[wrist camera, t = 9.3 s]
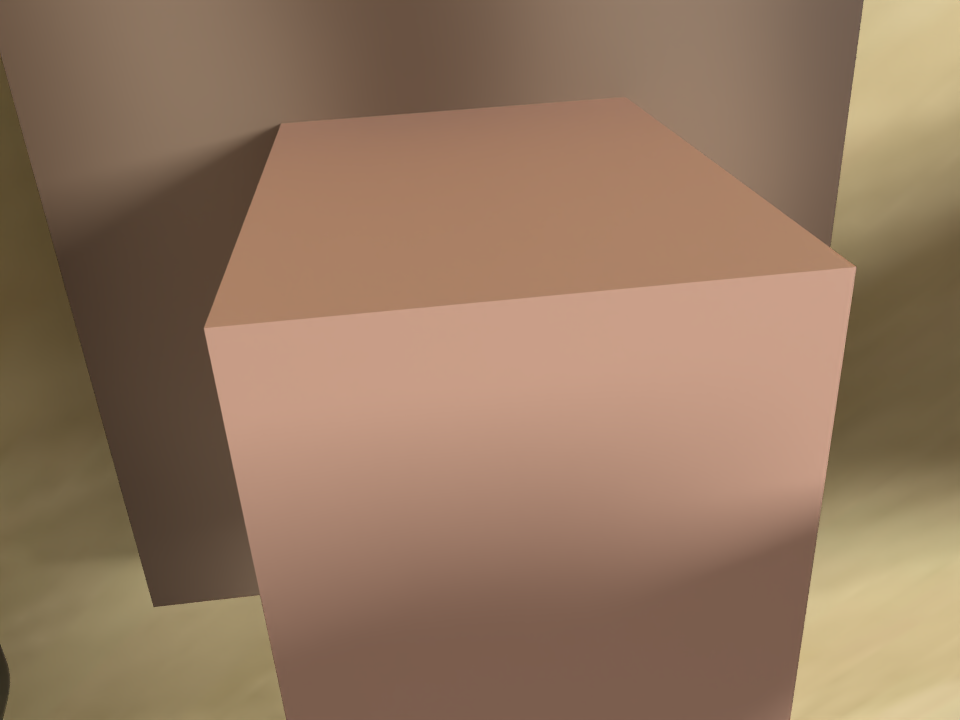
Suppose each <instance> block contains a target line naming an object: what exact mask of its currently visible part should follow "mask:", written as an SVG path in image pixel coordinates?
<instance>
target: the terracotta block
mask: <svg viewBox="0 0 960 720" xmlns="http://www.w3.org/2000/svg"><path fill="white" fill-rule="evenodd" d="M855 274H856V266H854V265H853V264H852V263H850V262H849V261H848V260H846V259H845V258H844V257H842V256H841V255H840V254H838V253H837V252H835V251H834V250H833V249H831V248H830V247H829V246H827V245H826V244H825V243H823V242H822V241H821V240H819V239H818V238H816V237H815V236H814V235H812V234H811V233H810V232H808V231H807V230H806V229H804V228H803V227H801V226H800V225H799V224H797V223H796V222H795V221H793V220H792V219H791V218H789V217H788V216H787V215H785V214H784V213H782V212H781V211H780V210H778V209H777V208H776V207H774V206H773V205H772V204H770V203H769V202H768V201H766V200H765V199H763V198H762V197H761V196H759V195H758V194H757V193H755V192H754V191H753V190H751V189H750V188H749V187H747V186H746V185H744V184H743V183H742V182H740V181H739V180H738V179H736V178H735V177H734V176H732V175H731V174H729V173H728V172H727V171H725V170H724V169H723V168H721V167H720V166H719V165H717V164H716V163H715V162H713V161H712V160H710V159H709V158H708V157H706V156H705V155H704V154H702V153H701V152H700V151H698V150H697V149H696V148H694V147H693V146H691V145H690V144H689V143H687V142H686V141H685V140H683V139H682V138H681V137H679V136H678V135H677V134H675V133H674V132H672V131H671V130H670V129H668V128H667V127H666V126H664V125H663V124H662V123H660V122H659V121H657V120H656V119H655V118H653V117H652V116H651V115H649V114H648V113H647V112H645V111H644V110H643V109H641V108H640V107H638V106H637V105H636V104H634V103H633V102H632V101H630V100H629V99H628V98H626V97H619V98H606V99H593V100H579V101H567V102H554V103H541V104H527V105H514V106H501V107H488V108H475V109H462V110H449V111H436V112H423V113H410V114H397V115H384V116H371V117H358V118H345V119H332V120H319V121H306V122H293V123H281V125H280V128H279V130H278V133H277V136H276V138H275V141H274V144H273V146H272V149H271V152H270V154H269V157H268V159H267V162H266V165H265V167H264V170H263V173H262V175H261V178H260V181H259V183H258V186H257V189H256V191H255V194H254V197H253V199H252V202H251V205H250V207H249V210H248V212H247V215H246V218H245V220H244V223H243V226H242V228H241V231H240V234H239V236H238V239H237V242H236V244H235V247H234V250H233V252H232V255H231V258H230V260H229V263H228V265H227V268H226V271H225V273H224V276H223V279H222V281H221V284H220V287H219V289H218V292H217V295H216V297H215V300H214V303H213V305H212V308H211V311H210V313H209V316H208V318H207V321H206V324H205V326H204V331H205V336H206V341H207V346H208V350H209V355H210V360H211V365H212V369H213V374H214V379H215V384H216V388H217V393H218V398H219V403H220V407H221V412H222V417H223V421H224V426H225V431H226V436H227V440H228V445H229V450H230V455H231V459H232V464H233V469H234V474H235V478H236V483H237V488H238V493H239V497H240V502H241V507H242V511H243V516H244V521H245V526H246V530H247V535H248V540H249V545H250V549H251V554H252V559H253V564H254V568H255V573H256V578H257V583H258V587H259V592H260V597H261V601H262V606H263V611H264V616H265V620H266V625H267V630H268V635H269V639H270V644H271V649H272V654H273V658H274V663H275V668H276V673H277V677H278V682H279V687H280V691H281V696H282V701H283V706H284V710H285V715H286V720H790V716H791V710H792V703H793V696H794V689H795V682H796V676H797V669H798V662H799V655H800V648H801V642H802V635H803V628H804V621H805V614H806V608H807V601H808V594H809V587H810V580H811V573H812V567H813V560H814V553H815V546H816V539H817V533H818V526H819V519H820V512H821V505H822V499H823V492H824V485H825V478H826V471H827V464H828V458H829V451H830V444H831V437H832V430H833V424H834V417H835V410H836V403H837V396H838V390H839V383H840V376H841V369H842V362H843V355H844V349H845V342H846V335H847V328H848V321H849V315H850V308H851V301H852V294H853V287H854V281H855Z"/></svg>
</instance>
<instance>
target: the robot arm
mask: <svg viewBox="0 0 960 720" xmlns="http://www.w3.org/2000/svg"><path fill="white" fill-rule="evenodd" d="M9 687H10V674H9V668H8V664H7V661H6V658H5V656H4V653H3V650H2V648H1V645H0V720H3V717H4V713H5V709H6V704H7V700H8V695H9Z"/></svg>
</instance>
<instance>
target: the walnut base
mask: <svg viewBox="0 0 960 720" xmlns="http://www.w3.org/2000/svg"><path fill="white" fill-rule="evenodd" d="M863 1H864V0H0V54H1V58H2V61H3V65H4V69H5V72H6V76H7V80H8V83H9V87H10V90H11V94H12V98H13V101H14V105H15V108H16V112H17V116H18V119H19V123H20V126H21V130H22V134H23V137H24V141H25V144H26V148H27V152H28V155H29V159H30V162H31V166H32V170H33V173H34V177H35V181H36V184H37V188H38V191H39V195H40V199H41V202H42V206H43V209H44V213H45V217H46V220H47V224H48V227H49V231H50V235H51V238H52V242H53V245H54V249H55V253H56V256H57V260H58V263H59V267H60V271H61V274H62V278H63V281H64V285H65V289H66V292H67V296H68V300H69V303H70V307H71V310H72V314H73V318H74V321H75V325H76V328H77V332H78V336H79V339H80V343H81V346H82V350H83V354H84V357H85V361H86V364H87V368H88V372H89V375H90V379H91V382H92V386H93V390H94V393H95V397H96V401H97V404H98V408H99V411H100V415H101V419H102V422H103V426H104V429H105V433H106V437H107V440H108V444H109V447H110V451H111V455H112V458H113V462H114V465H115V469H116V473H117V476H118V480H119V483H120V487H121V491H122V494H123V498H124V502H125V505H126V509H127V512H128V516H129V520H130V523H131V527H132V530H133V534H134V538H135V541H136V545H137V548H138V552H139V556H140V559H141V563H142V566H143V570H144V574H145V577H146V581H147V584H148V588H149V592H150V595H151V599H152V603H153V606H154V607H158V606H167V605H175V604H184V603H193V602H202V601H211V600H219V599H228V598H237V597H246V596H254V595H260V592H259V587H258V583H257V578H256V573H255V568H254V564H253V559H252V554H251V549H250V545H249V540H248V535H247V530H246V526H245V521H244V516H243V511H242V507H241V502H240V497H239V493H238V488H237V483H236V478H235V474H234V469H233V464H232V459H231V455H230V450H229V445H228V440H227V436H226V431H225V426H224V421H223V417H222V412H221V407H220V403H219V398H218V393H217V388H216V384H215V379H214V374H213V369H212V365H211V360H210V355H209V350H208V346H207V341H206V336H205V331H204V326H205V324H206V321H207V318H208V316H209V313H210V311H211V308H212V305H213V303H214V300H215V297H216V295H217V292H218V289H219V287H220V284H221V281H222V279H223V276H224V273H225V271H226V268H227V265H228V263H229V260H230V258H231V255H232V252H233V250H234V247H235V244H236V242H237V239H238V236H239V234H240V231H241V228H242V226H243V223H244V220H245V218H246V215H247V212H248V210H249V207H250V205H251V202H252V199H253V197H254V194H255V191H256V189H257V186H258V183H259V181H260V178H261V175H262V173H263V170H264V167H265V165H266V162H267V159H268V157H269V154H270V152H271V149H272V146H273V144H274V141H275V138H276V136H277V133H278V130H279V128H280V125H281V123H293V122H306V121H319V120H332V119H345V118H358V117H371V116H384V115H397V114H410V113H423V112H436V111H449V110H462V109H475V108H488V107H501V106H514V105H527V104H541V103H554V102H567V101H579V100H593V99H606V98H619V97H626V98H628V99H629V100H630V101H632V102H633V103H634V104H636V105H637V106H638V107H640V108H641V109H643V110H644V111H645V112H647V113H648V114H649V115H651V116H652V117H653V118H655V119H656V120H657V121H659V122H660V123H662V124H663V125H664V126H666V127H667V128H668V129H670V130H671V131H672V132H674V133H675V134H677V135H678V136H679V137H681V138H682V139H683V140H685V141H686V142H687V143H689V144H690V145H691V146H693V147H694V148H696V149H697V150H698V151H700V152H701V153H702V154H704V155H705V156H706V157H708V158H709V159H710V160H712V161H713V162H715V163H716V164H717V165H719V166H720V167H721V168H723V169H724V170H725V171H727V172H728V173H729V174H731V175H732V176H734V177H735V178H736V179H738V180H739V181H740V182H742V183H743V184H744V185H746V186H747V187H749V188H750V189H751V190H753V191H754V192H755V193H757V194H758V195H759V196H761V197H762V198H763V199H765V200H766V201H768V202H769V203H770V204H772V205H773V206H774V207H776V208H777V209H778V210H780V211H781V212H782V213H784V214H785V215H787V216H788V217H789V218H791V219H792V220H793V221H795V222H796V223H797V224H799V225H800V226H801V227H803V228H804V229H806V230H807V231H808V232H810V233H811V234H812V235H814V236H815V237H816V238H818V239H819V240H821V241H822V242H823V243H825V244H826V245H827V246H829V247H830V245H831V237H832V230H833V223H834V215H835V208H836V200H837V193H838V186H839V178H840V171H841V163H842V156H843V149H844V141H845V134H846V127H847V119H848V112H849V104H850V97H851V90H852V82H853V75H854V67H855V60H856V53H857V45H858V38H859V30H860V23H861V16H862V8H863Z"/></svg>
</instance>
